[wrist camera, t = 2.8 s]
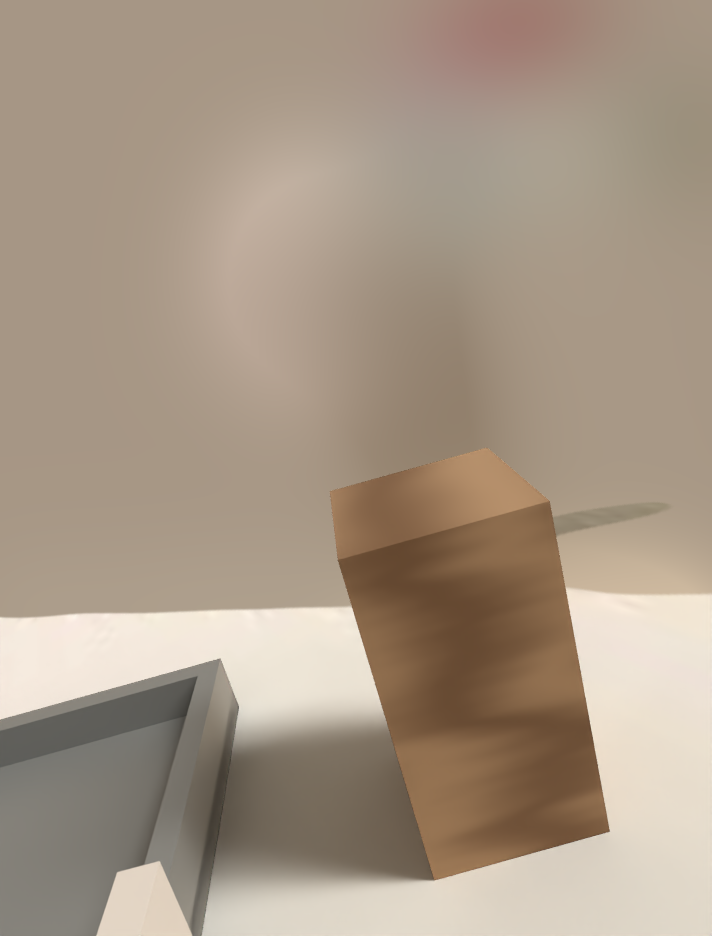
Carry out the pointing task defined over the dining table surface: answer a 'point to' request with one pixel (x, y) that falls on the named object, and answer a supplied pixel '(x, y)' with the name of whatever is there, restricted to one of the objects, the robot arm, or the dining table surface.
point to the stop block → (472, 657)
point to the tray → (113, 798)
